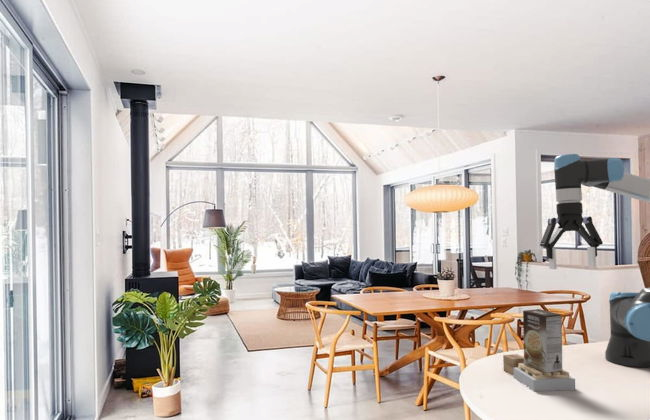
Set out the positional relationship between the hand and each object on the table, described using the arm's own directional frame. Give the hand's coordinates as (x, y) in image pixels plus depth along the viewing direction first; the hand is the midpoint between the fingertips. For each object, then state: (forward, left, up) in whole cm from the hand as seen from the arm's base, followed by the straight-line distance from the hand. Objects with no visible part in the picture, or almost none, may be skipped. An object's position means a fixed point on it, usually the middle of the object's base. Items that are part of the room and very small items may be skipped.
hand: (572, 268), depth 155 cm
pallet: (+18, +13, -29) cm, 37 cm away
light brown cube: (+21, +2, -32) cm, 38 cm away
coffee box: (+18, +13, -28) cm, 36 cm away
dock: (+18, +13, -32) cm, 39 cm away
